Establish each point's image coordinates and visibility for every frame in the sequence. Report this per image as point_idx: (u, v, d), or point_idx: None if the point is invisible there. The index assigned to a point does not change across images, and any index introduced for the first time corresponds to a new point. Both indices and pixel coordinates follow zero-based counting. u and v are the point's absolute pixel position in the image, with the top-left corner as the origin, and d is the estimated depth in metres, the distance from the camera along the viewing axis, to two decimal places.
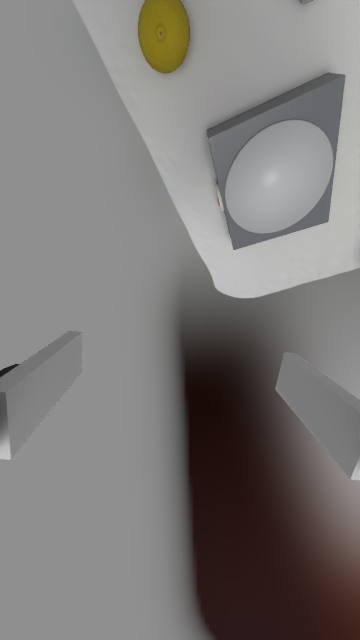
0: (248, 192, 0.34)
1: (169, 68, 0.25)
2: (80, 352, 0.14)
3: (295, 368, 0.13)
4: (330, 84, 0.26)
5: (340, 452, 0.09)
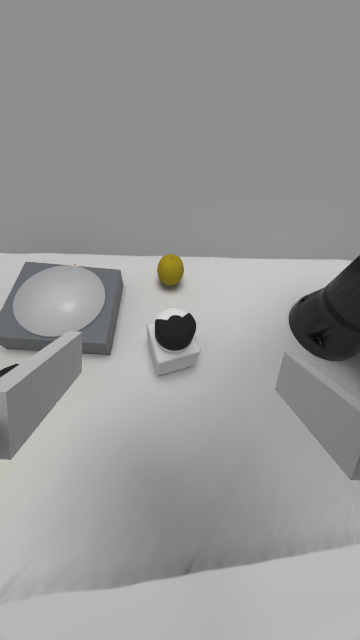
0: (70, 280, 0.41)
1: (159, 262, 0.45)
2: (80, 352, 0.14)
3: (295, 368, 0.13)
4: (105, 335, 0.37)
5: (340, 452, 0.09)
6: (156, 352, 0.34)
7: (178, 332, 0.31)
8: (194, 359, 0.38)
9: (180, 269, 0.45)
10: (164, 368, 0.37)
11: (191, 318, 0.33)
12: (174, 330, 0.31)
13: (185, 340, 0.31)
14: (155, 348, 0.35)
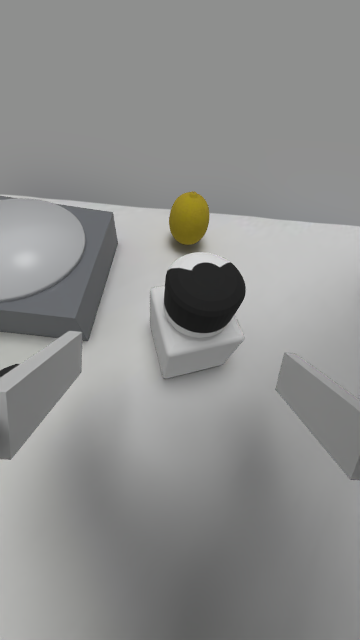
0: (30, 218, 0.26)
1: (173, 204, 0.30)
2: (80, 352, 0.14)
3: (295, 368, 0.13)
4: (76, 305, 0.21)
5: (340, 452, 0.09)
6: (165, 336, 0.19)
7: (213, 293, 0.15)
8: (229, 353, 0.22)
9: (205, 215, 0.29)
10: (176, 366, 0.21)
11: (236, 271, 0.17)
12: (206, 288, 0.15)
13: (227, 309, 0.15)
14: (163, 328, 0.19)
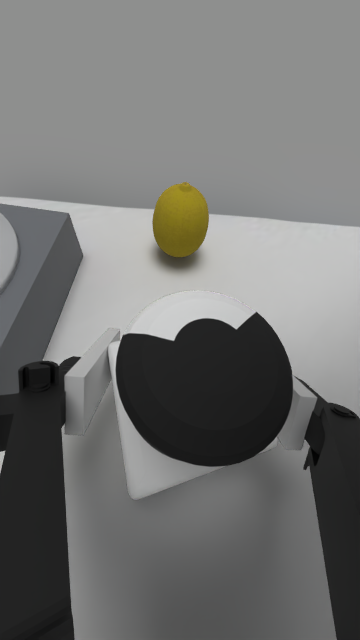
0: None
1: (157, 202, 0.21)
2: None
3: None
4: None
5: None
6: (128, 451, 0.10)
7: (226, 405, 0.06)
8: None
9: (203, 217, 0.20)
10: None
11: (272, 334, 0.08)
12: (207, 392, 0.06)
13: (261, 444, 0.06)
14: (125, 433, 0.10)
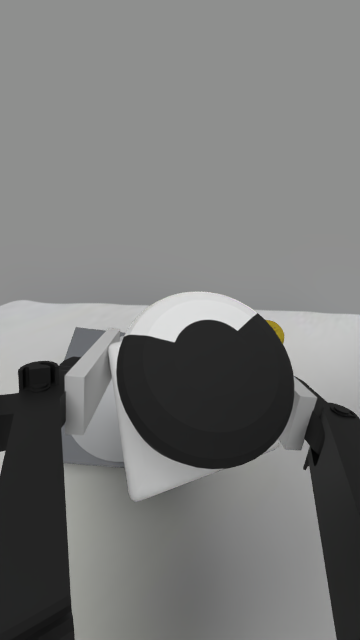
0: None
1: None
2: None
3: None
4: None
5: None
6: (128, 452, 0.09)
7: (227, 408, 0.06)
8: None
9: (282, 343, 0.33)
10: None
11: (273, 336, 0.08)
12: (208, 395, 0.06)
13: (263, 447, 0.06)
14: (126, 435, 0.10)
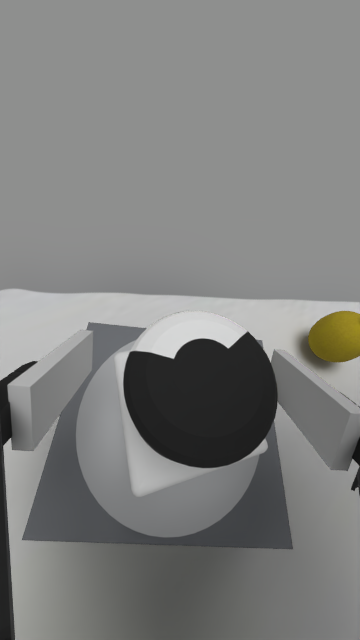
0: None
1: (328, 326, 0.25)
2: (91, 350, 0.14)
3: (283, 364, 0.13)
4: (285, 521, 0.16)
5: (322, 443, 0.10)
6: (131, 453, 0.11)
7: (217, 416, 0.07)
8: None
9: None
10: None
11: (260, 353, 0.09)
12: (201, 405, 0.07)
13: (247, 450, 0.07)
14: (129, 437, 0.11)
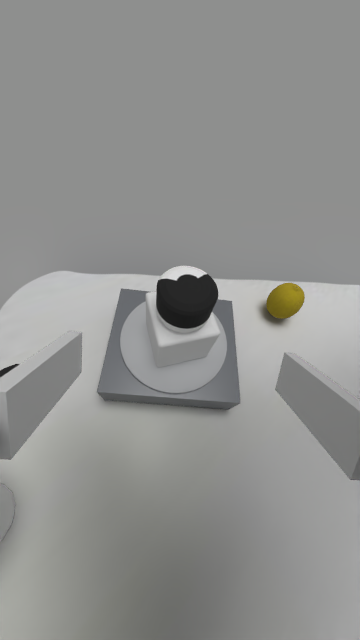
0: None
1: (275, 292, 0.38)
2: (80, 352, 0.14)
3: (295, 368, 0.13)
4: (237, 391, 0.29)
5: (340, 452, 0.09)
6: (157, 331, 0.24)
7: (192, 298, 0.20)
8: (209, 346, 0.27)
9: (303, 302, 0.37)
10: (167, 356, 0.26)
11: (211, 281, 0.22)
12: (186, 294, 0.20)
13: (203, 310, 0.20)
14: (156, 325, 0.24)
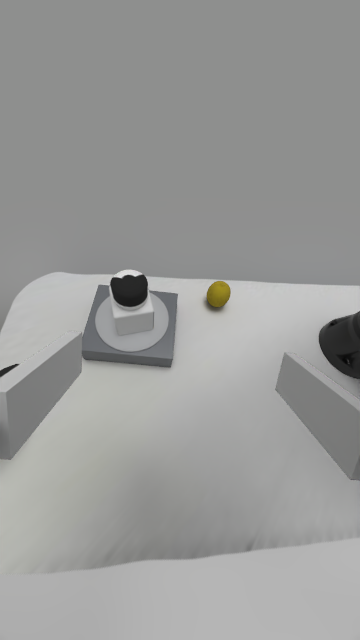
0: None
1: (210, 287, 0.53)
2: (80, 352, 0.14)
3: (295, 368, 0.13)
4: (171, 351, 0.44)
5: (340, 452, 0.09)
6: (113, 309, 0.39)
7: (129, 288, 0.35)
8: (150, 320, 0.42)
9: (228, 294, 0.52)
10: (122, 326, 0.41)
11: (143, 278, 0.37)
12: (126, 286, 0.36)
13: (135, 295, 0.35)
14: (113, 306, 0.39)
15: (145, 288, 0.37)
